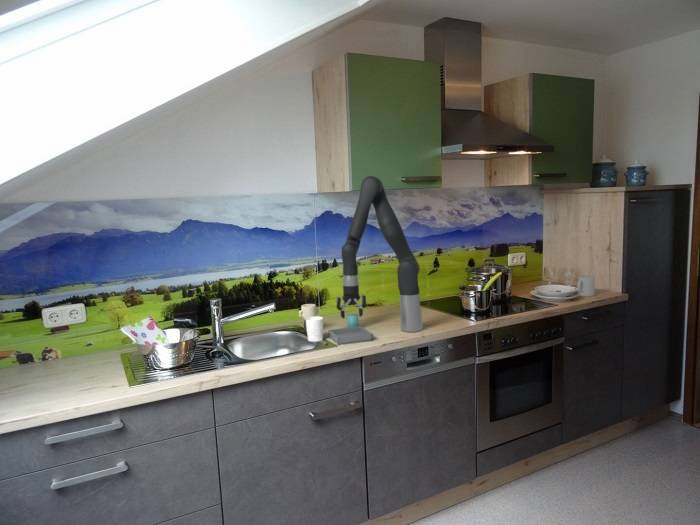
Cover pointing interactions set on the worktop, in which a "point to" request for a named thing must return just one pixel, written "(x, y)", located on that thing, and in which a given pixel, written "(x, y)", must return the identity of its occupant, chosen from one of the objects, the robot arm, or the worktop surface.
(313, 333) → the white cup
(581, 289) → the mug
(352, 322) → the teal capsule
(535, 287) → the worktop surface
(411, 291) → the robot arm
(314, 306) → the character mug
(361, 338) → the tray
